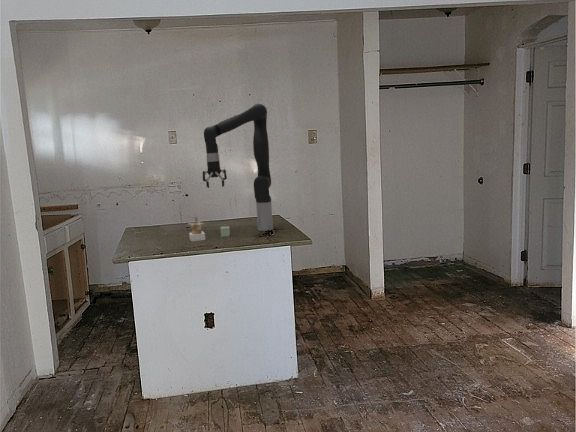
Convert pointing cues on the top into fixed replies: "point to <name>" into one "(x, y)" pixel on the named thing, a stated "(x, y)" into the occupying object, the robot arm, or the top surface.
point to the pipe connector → (196, 222)
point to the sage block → (225, 231)
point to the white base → (197, 236)
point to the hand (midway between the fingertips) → (215, 187)
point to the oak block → (196, 228)
